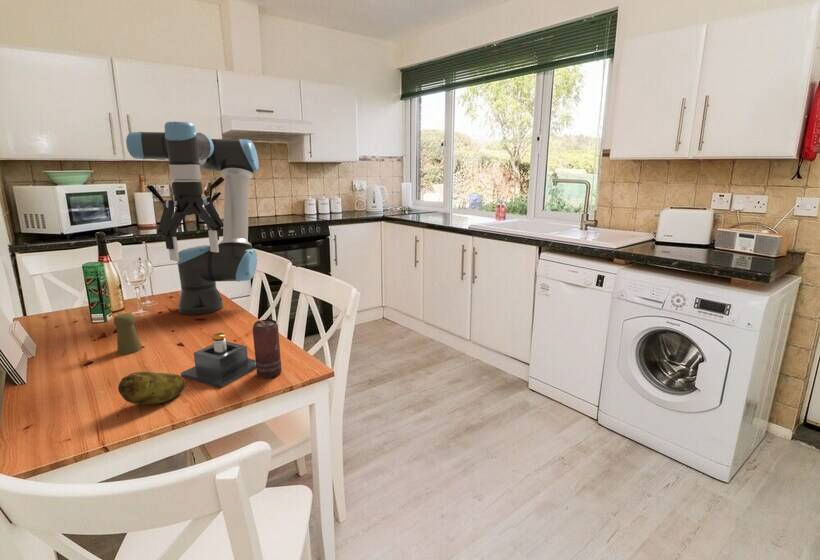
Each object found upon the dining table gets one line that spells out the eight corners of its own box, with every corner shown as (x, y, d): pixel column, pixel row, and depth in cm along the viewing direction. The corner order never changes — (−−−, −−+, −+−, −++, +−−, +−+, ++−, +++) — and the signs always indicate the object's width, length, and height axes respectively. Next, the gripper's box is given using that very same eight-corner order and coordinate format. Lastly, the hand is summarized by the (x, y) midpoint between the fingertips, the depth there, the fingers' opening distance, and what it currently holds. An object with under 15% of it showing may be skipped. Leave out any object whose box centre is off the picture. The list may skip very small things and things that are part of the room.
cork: (130, 355, 125) (123, 318, 122) (112, 353, 126) (105, 317, 124) (146, 346, 131) (140, 311, 128) (129, 345, 132) (123, 310, 129)
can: (268, 366, 119) (264, 317, 115) (286, 371, 116) (282, 320, 112) (251, 375, 113) (246, 324, 110) (269, 381, 111) (265, 328, 107)
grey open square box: (223, 357, 122) (221, 340, 120) (248, 363, 118) (246, 346, 117) (195, 370, 114) (193, 352, 112) (221, 377, 110) (219, 359, 109)
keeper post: (224, 355, 125) (220, 322, 122) (262, 365, 119) (259, 330, 117) (181, 376, 113) (175, 340, 110) (221, 388, 107) (216, 349, 104)
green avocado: (188, 402, 101) (184, 370, 99) (122, 418, 94) (115, 384, 92) (185, 387, 108) (180, 356, 105) (122, 401, 101) (116, 369, 99)
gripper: (213, 179, 135) (220, 247, 140) (134, 182, 113) (146, 263, 119) (231, 179, 132) (238, 249, 137) (153, 182, 110) (165, 265, 115)
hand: (195, 256), depth 128 cm, fingers open, 13 cm apart
